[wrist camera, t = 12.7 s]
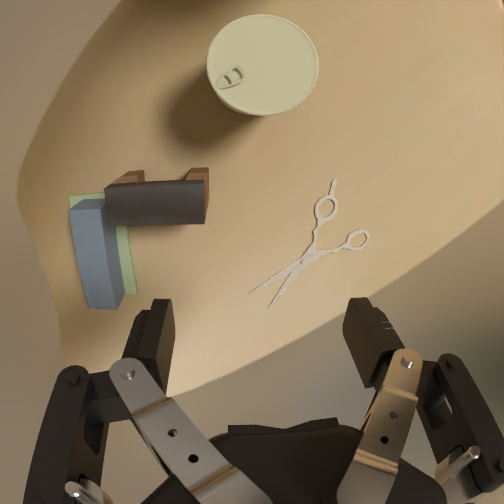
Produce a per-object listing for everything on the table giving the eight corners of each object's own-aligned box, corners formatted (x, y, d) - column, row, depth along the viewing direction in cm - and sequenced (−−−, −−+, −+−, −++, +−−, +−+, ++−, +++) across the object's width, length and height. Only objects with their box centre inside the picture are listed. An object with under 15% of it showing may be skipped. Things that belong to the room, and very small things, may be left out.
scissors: (380, 230, 41) (281, 322, 46) (378, 228, 42) (281, 319, 47) (334, 178, 37) (229, 284, 42) (332, 177, 38) (228, 281, 43)
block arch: (128, 171, 35) (103, 188, 27) (208, 167, 36) (203, 184, 28) (131, 201, 37) (108, 226, 29) (209, 199, 37) (204, 224, 30)
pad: (70, 195, 35) (68, 196, 35) (123, 191, 36) (121, 192, 35) (90, 290, 42) (89, 292, 41) (138, 291, 42) (137, 294, 42)
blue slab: (83, 198, 35) (68, 209, 31) (113, 198, 36) (100, 209, 32) (98, 290, 41) (88, 307, 37) (125, 292, 42) (116, 310, 38)
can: (197, 64, 30) (183, 43, 19) (267, 30, 29) (286, -4, 18) (237, 128, 34) (241, 137, 23) (305, 93, 32) (340, 88, 22)
